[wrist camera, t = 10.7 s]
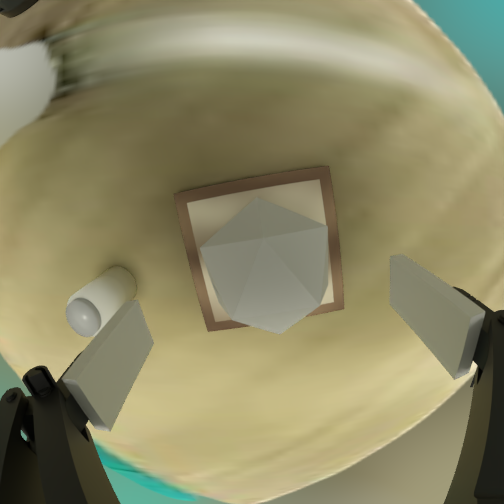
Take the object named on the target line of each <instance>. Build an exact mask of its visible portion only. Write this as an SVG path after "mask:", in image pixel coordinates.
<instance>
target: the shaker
mask: <svg viewBox="0 0 504 504" xmlns="http://www.w3.org/2000/svg"><path fill="white" fill-rule="evenodd" d="M136 291H137V286H136V282H135V279H134V277H133V276H132V274H131V273H130V272H129V271H128V270H126V269H125V268H122V267H119V266H114V267H111V268H109V269H108V270H106V271H105V272H103V273H102V274H101V275H99V276H98V277H96V278H95V279H94V280H92V281H91V282H89V283H88V284H87V285H85V286H84V287H83V288H81V289H80V290H79V291H77V292H76V293H74V294H73V295H72V296H71V297H70V298H69V300H68V303H67V308H66V317H67V320H68V323H69V324H70V326H71V327H72V329H73V330H74V331H75V332H76V333H78V334H79V335H81V336H84V337H91V336H96V335H97V334H98V333H99V332H100V330H101V329H102V328H103V327H104V326H105V324H106V323H107V322H108V321H109V320H110V319H111V318H112V316H113V315H114V314H115V313H116V312H117V311H118V309H119V308H120V307H121V306H122V305H123V304H124V303H125V302H126V301H131V300H132V299H133V298H134V297H135V295H136Z"/></svg>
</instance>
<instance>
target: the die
mask: <svg viewBox="0 0 504 504" xmlns="http://www.w3.org/2000/svg"><path fill="white" fill-rule="evenodd" d="M200 251H201V253H202V256H203V259H204V262H205V265H206V268H207V271H208V274H209V277H210V280H211V282H212V285H213V288H214V291H215V294H216V296H217V299H218V302H219V304H220V305H221V306H222V308H223V309H224V310H225V312H226V313H227V314H228V316H229V317H230V318H231V319H232V320H233V321H236V322H240V323H243V324H246V325H249V326H253V327H256V328H259V329H263V330H266V331H270V332H273V333H277V334H281V333H283V332H284V331H285V330H287V329H288V328H290V327H291V326H293V325H294V324H295V323H297V322H298V321H300V320H301V319H302V318H304V317H305V316H307V315H308V314H309V313H311V312H312V311H313V310H315V309H316V308H317V307H319V306H320V304H321V302H322V299H323V297H324V294H325V292H326V289H327V286H328V226H326V225H324V224H322V223H319V222H317V221H314V220H312V219H310V218H307V217H305V216H303V215H300V214H298V213H295V212H293V211H290V210H288V209H286V208H283V207H281V206H278V205H276V204H273V203H271V202H268V201H265V200H263V199H260V198H258V197H256V198H255V199H254V200H253V201H252V202H251V203H250V204H248V205H247V206H246V207H245V208H244V209H243V210H242V211H240V212H239V213H238V214H237V215H236V216H235V217H234V218H232V219H231V220H230V221H229V222H228V223H227V224H226V225H225V226H223V227H222V228H221V229H220V230H219V231H218V232H217V233H216V234H215V235H213V236H212V237H211V238H210V239H209V240H208V241H207V242H206V243H205V244H203V245H202V246H201V247H200Z"/></svg>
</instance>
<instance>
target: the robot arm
mask: <svg viewBox="0 0 504 504" xmlns="http://www.w3.org/2000/svg"><path fill="white" fill-rule="evenodd" d="M36 1H37V0H0V14H2V15H4V16H6V17H14V16H16V15H18V14H20V13H22V12H23V11H25V10H26V9H27V8H29V7H30V6H31V5H33V4H34V3H35V2H36ZM390 305H391V306H392V307H393V309H394V310H395V311H396V312H397V313H398V314H399V315H400V316H401V317H402V318H403V320H404V321H405V322H406V323H407V324H408V325H409V326H410V327H411V329H412V330H413V331H414V332H415V333H416V334H417V335H418V337H419V338H420V339H421V340H422V341H423V342H424V344H425V345H426V346H427V347H428V348H429V349H430V351H431V352H432V353H433V354H434V355H435V357H436V358H437V359H438V360H439V361H440V363H441V364H442V365H443V366H444V367H445V369H446V370H447V371H448V372H449V374H450V375H451V376H452V377H453V379H454V380H455V379H457V378H459V377H461V376H463V375H465V374H467V373H469V370H470V367H471V364H472V361H474V362H475V363H476V364H477V365H478V367H477V370H476V372H475V375H474V378H473V381H472V383H471V386H470V387H473V385H474V389H473V397H472V403H471V409H470V415H469V420H468V425H467V430H466V435H465V439H464V443H463V447H462V451H461V455H460V458H459V461H458V465H457V468H456V471H455V474H454V477H453V480H452V483H451V486H450V489H449V491H448V494H447V497H446V499H445V502H444V504H504V310H499V311H496V312H493V311H492V310H491V309H489V308H488V307H487V306H485V305H484V304H483V303H481V302H480V301H478V300H476V298H474V297H473V296H471V295H470V294H469V293H467V292H466V291H464V290H462V289H460V288H457V287H451V286H450V285H449V284H447V283H446V282H444V281H443V280H441V279H440V278H438V277H437V276H435V275H434V274H433V273H431V272H430V271H428V270H427V269H425V268H424V267H422V266H420V265H419V264H417V263H416V262H414V261H413V260H411V259H410V258H408V257H407V256H405V255H403V254H399V255H394V256H390ZM153 344H154V342H153V339H152V337H151V334H150V331H149V329H148V326H147V324H146V321H145V318H144V316H143V313H142V310H141V307H140V304H139V302H138V300H131V301H126V302H125V303H124V304H123V305H122V306H121V307H120V308H119V309H118V311H117V312H116V313H115V314H114V315H113V316H112V318H111V319H110V320H109V321H108V322H107V323H106V324H105V326H104V327H103V328H102V329H101V330H100V332H99V333H98V334H97V335H96V336H95V338H94V339H93V340H92V341H91V342H90V344H89V345H88V346H87V347H86V348H85V350H84V351H82V352H81V353H80V354H79V355H78V356H77V357H76V358H75V360H74V362H72V363H71V365H70V367H68V368H67V370H66V371H65V372H64V373H63V375H62V376H61V377H60V378H59V380H58V381H57V382H55V380H54V379H53V377H52V375H51V374H50V372H49V370H48V368H47V367H46V366H37V367H34V368H32V369H30V370H29V371H28V372H27V373H26V374H25V375H24V376H23V379H22V381H23V383H24V384H25V386H26V387H27V389H28V390H29V392H30V393H31V395H32V396H27V397H26V396H25V394H24V393H23V391H22V390H21V389H20V388H18V387H16V388H12V389H9V390H7V391H6V393H5V394H4V395H3V396H2V398H1V400H0V504H120V502H119V500H118V498H117V496H116V494H115V492H114V490H113V488H112V486H111V484H110V481H109V479H108V477H107V475H106V472H105V470H104V468H103V465H102V463H101V460H100V458H99V455H98V453H97V450H96V448H95V445H94V442H93V439H92V436H91V434H90V431H89V429H88V428H87V427H86V424H87V422H88V420H89V421H90V422H91V423H92V425H93V426H94V427H95V429H98V430H104V431H111V429H112V427H113V425H114V423H115V421H116V418H117V416H118V414H119V412H120V410H121V408H122V406H123V404H124V402H125V400H126V398H127V396H128V394H129V392H130V390H131V388H132V386H133V384H134V382H135V380H136V378H137V376H138V374H139V372H140V370H141V368H142V366H143V364H144V362H145V360H146V358H147V356H148V354H149V352H150V350H151V348H152V346H153ZM21 430H22V431H23V432H24V433H25V435H26V436H27V440H26V441H25V440H24V439H23V438H22V436H21Z"/></svg>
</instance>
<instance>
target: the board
mask: <svg viewBox="0 0 504 504" xmlns="http://www.w3.org/2000/svg"><path fill="white" fill-rule="evenodd" d="M256 197H258V198H260V199H263V200H265V201H268V202H271V203H273V204H276V205H278V206H281V207H283V208H286V209H288V210H290V211H293V212H295V213H298V214H300V215H303V216H305V217H307V218H310V219H312V220H314V221H317V222H319V223H322V224H324V225H326V226H328V286H327V289H326V292H325V294H324V297H323V299H322V302H321V304H320V306H319V307H317V308H316V309H315V310H313V311H312V312H311V313H309V314H308V315H307V316H312V315H317V314H323V313H328V312H332V311H337V310H342V309H344V294H343V279H342V267H341V255H340V245H339V235H338V227H337V218H336V210H335V203H334V196H333V189H332V182H331V176H330V170H329V166H323V167H316V168H308V169H301V170H295V171H288V172H282V173H275V174H269V175H264V176H258V177H252V178H247V179H241V180H236V181H231V182H226V183H221V184H216V185H211V186H206V187H202V188H197V189H192V190H188V191H184V192H179V193H175V194H174V199H175V204H176V208H177V213H178V218H179V222H180V227H181V231H182V235H183V240H184V244H185V248H186V252H187V256H188V260H189V264H190V268H191V272H192V276H193V280H194V284H195V288H196V291H197V295H198V299H199V302H200V306H201V310H202V313H203V317H204V320H205V324H206V327H207V330H208V332H210V331H218V330H226V329H233V328H240V327H247V326H249V325H246V324H243V323H240V322H236V321H233V320H232V319H231V318H230V317H229V316H228V314H227V313H226V312H225V310H224V309H223V308H222V306H221V305H220V304H219V302H218V299H217V296H216V294H215V291H214V288H213V285H212V282H211V280H210V277H209V274H208V271H207V268H206V265H205V262H204V259H203V256H202V253H201V251H200V247H201V246H202V245H203V244H205V243H206V242H207V241H208V240H209V239H210V238H211V237H212V236H213V235H215V234H216V233H217V232H218V231H219V230H220V229H221V228H222V227H223V226H225V225H226V224H227V223H228V222H229V221H230V220H231V219H232V218H234V217H235V216H236V215H237V214H238V213H239V212H240V211H242V210H243V209H244V208H245V207H246V206H247V205H248V204H250V203H251V202H252V201H253V200H254V199H255V198H256ZM307 316H305V317H307Z"/></svg>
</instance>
